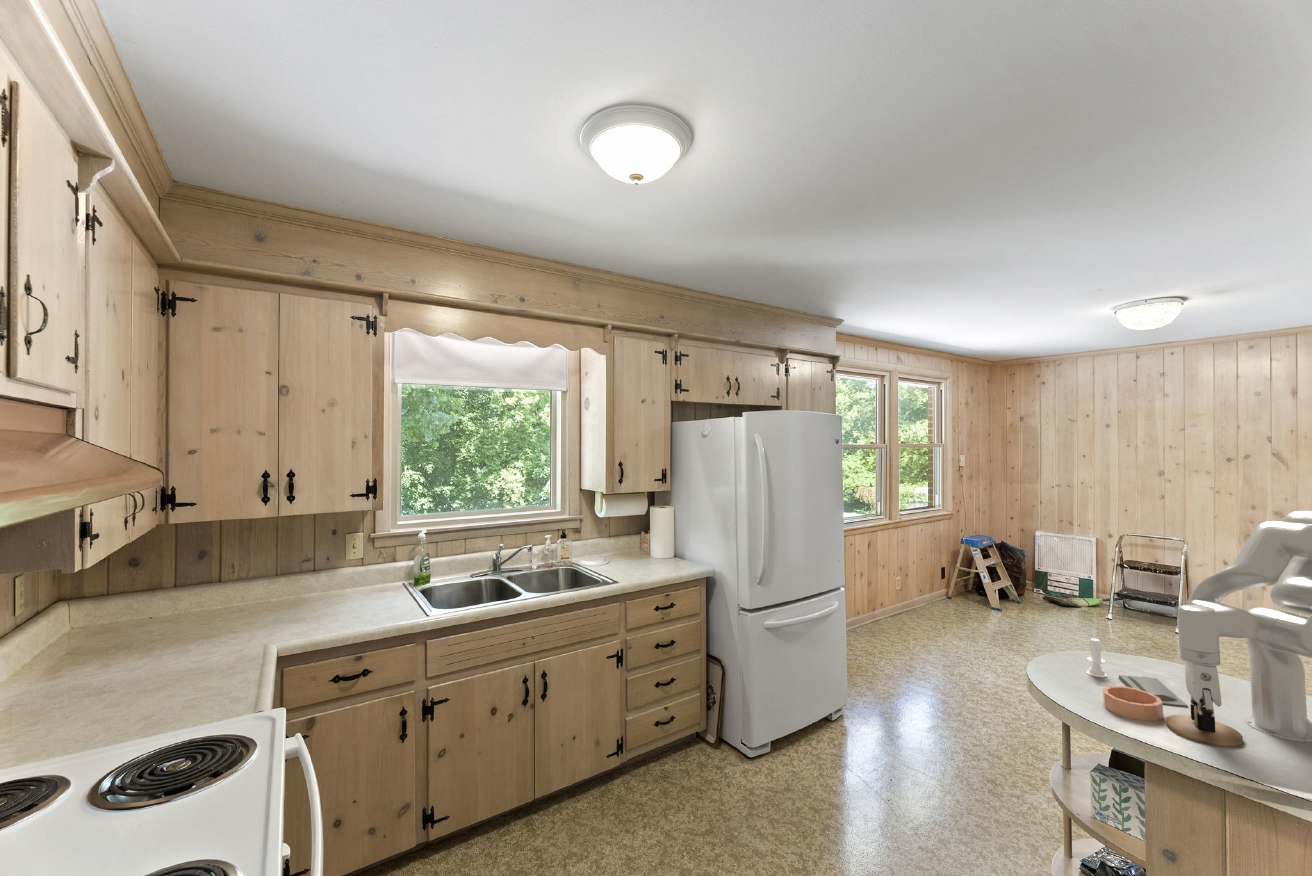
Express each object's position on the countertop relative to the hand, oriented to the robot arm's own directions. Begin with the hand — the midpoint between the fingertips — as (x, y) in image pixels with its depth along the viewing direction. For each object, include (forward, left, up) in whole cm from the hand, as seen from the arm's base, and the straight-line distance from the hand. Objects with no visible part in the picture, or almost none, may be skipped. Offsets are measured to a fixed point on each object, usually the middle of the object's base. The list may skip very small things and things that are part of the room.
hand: (1203, 725), depth 142 cm
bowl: (+13, -7, -3) cm, 15 cm away
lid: (0, 0, -2) cm, 2 cm away
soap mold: (+6, -25, -4) cm, 26 cm away
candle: (+18, -35, -3) cm, 39 cm away
